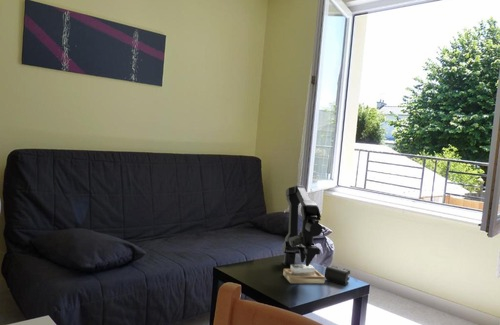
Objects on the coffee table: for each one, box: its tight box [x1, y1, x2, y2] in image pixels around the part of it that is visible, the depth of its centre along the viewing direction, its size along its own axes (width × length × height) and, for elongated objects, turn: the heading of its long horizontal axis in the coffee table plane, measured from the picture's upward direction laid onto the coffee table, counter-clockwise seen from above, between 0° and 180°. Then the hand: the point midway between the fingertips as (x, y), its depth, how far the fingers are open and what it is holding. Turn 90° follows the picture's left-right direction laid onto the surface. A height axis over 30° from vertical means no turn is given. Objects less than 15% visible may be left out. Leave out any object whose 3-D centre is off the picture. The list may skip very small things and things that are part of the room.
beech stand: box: [282, 268, 326, 284], centre depth 180 cm, size 11×16×3 cm
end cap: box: [324, 265, 351, 286], centre depth 180 cm, size 10×7×7 cm
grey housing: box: [289, 264, 316, 276], centre depth 180 cm, size 10×5×4 cm, turn 105°
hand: (304, 264), depth 180 cm, fingers open, 5 cm apart
